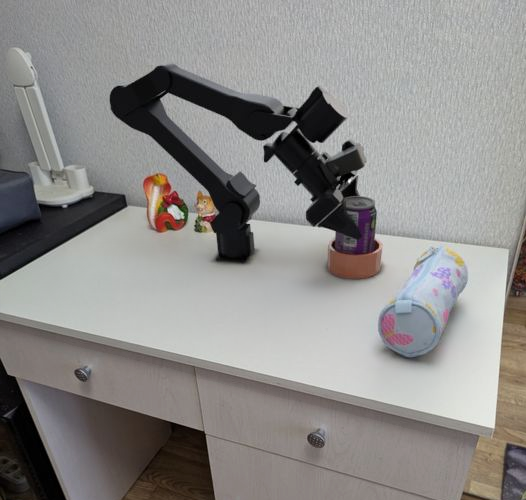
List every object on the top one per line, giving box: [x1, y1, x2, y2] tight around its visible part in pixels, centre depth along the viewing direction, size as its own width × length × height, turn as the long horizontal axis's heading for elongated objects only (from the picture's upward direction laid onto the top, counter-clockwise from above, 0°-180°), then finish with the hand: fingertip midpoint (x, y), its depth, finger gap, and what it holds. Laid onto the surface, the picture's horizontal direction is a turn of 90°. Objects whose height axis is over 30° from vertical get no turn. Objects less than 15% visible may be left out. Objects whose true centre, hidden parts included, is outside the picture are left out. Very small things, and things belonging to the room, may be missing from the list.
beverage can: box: [334, 195, 378, 255], centre depth 89 cm, size 7×7×12 cm
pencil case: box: [377, 245, 469, 358], centre depth 73 cm, size 21×9×10 cm, turn 151°
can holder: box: [326, 237, 384, 280], centre depth 92 cm, size 10×10×4 cm
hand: (364, 227), depth 88 cm, fingers open, 9 cm apart
